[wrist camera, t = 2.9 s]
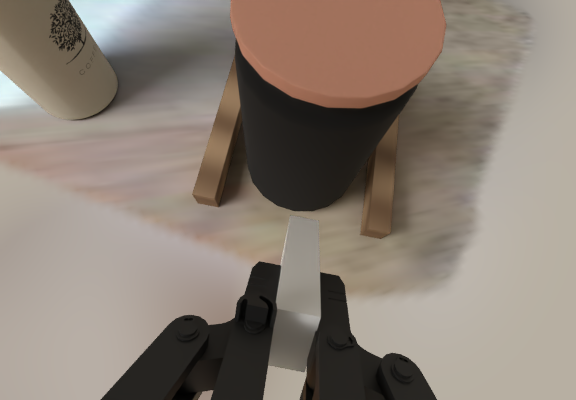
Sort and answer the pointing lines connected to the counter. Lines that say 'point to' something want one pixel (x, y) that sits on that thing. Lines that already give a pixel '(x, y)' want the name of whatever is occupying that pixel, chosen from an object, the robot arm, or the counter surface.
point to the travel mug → (54, 58)
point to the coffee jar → (325, 87)
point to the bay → (223, 145)
